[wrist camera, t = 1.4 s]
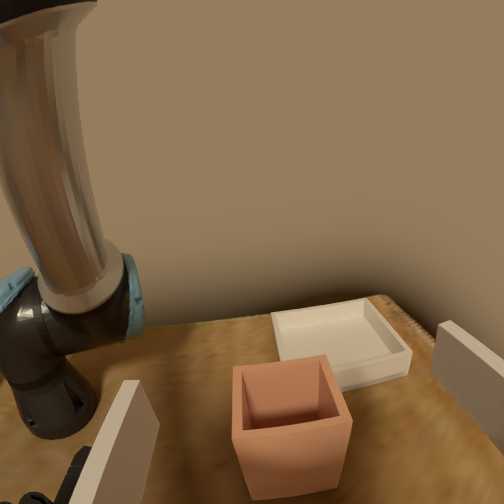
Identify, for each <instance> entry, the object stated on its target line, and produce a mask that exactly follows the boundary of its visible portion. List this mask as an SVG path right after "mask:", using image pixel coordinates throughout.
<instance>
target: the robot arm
mask: <svg viewBox="0 0 504 504" xmlns="http://www.w3.org/2000/svg"><path fill="white" fill-rule="evenodd" d="M96 6H97V0H0V185H1V188H2V191H3V193H4V196H5V199H6V201H7V204H8V206H9V208H10V211H11V213H12V215H13V217H14V220H15V222H16V225H17V227H18V229H19V231H20V233H21V236H22V237H23V240H24V242H25V243H26V246H27V248H28V250H29V252H30V254H31V256H32V258H33V259H34V261H35V263H36V265H37V267H38V269H39V274H38V276H37V277H36V276H35V272H34V271H33V269H32V268H31V267H24V268H21V269H18V270H16V271H14V272H12V273H10V274H8V275H6V276H4V277H2V278H0V369H1V371H2V373H3V375H4V376H5V378H6V380H7V381H8V383H9V385H10V386H11V388H12V391H13V395H14V398H15V401H16V404H17V408H18V411H19V414H20V416H21V419H22V421H23V422H24V424H25V425H26V426H27V428H28V429H29V430H30V431H31V432H32V433H33V434H34V435H35V436H37V437H40V438H43V439H49V440H54V439H61V438H65V437H67V436H70V435H72V434H74V433H75V432H77V431H79V430H80V429H81V428H82V427H84V426H85V425H86V424H87V422H88V421H89V420H90V419H91V417H92V415H93V414H94V411H95V408H96V402H97V401H96V395H95V393H94V391H93V389H92V387H91V385H90V384H89V382H88V381H87V380H86V379H85V378H84V377H83V376H82V375H81V374H80V373H79V372H78V371H77V370H76V369H75V368H74V367H73V365H72V364H71V363H70V362H69V361H68V360H67V359H66V357H65V356H66V355H69V354H74V353H78V352H82V351H86V350H90V349H94V348H98V347H102V346H106V345H110V344H114V343H118V342H119V343H124V342H126V341H127V340H129V339H132V338H135V337H138V336H140V335H141V334H142V333H143V332H144V330H145V325H146V322H145V311H144V304H143V301H142V294H141V287H140V282H139V277H138V273H137V269H136V265H135V262H134V259H133V257H132V256H131V255H130V254H124V253H120V251H119V250H118V248H117V247H116V246H115V245H114V244H113V243H112V242H111V241H109V240H107V239H105V238H104V236H103V233H102V229H101V226H100V221H99V217H98V213H97V209H96V205H95V201H94V197H93V192H92V187H91V182H90V177H89V172H88V167H87V161H86V155H85V149H84V143H83V136H82V129H81V121H80V112H79V102H78V91H77V74H76V31H77V28H78V25H79V24H80V23H81V22H82V21H83V20H84V18H86V16H87V15H88V14H89V13H90V12H91V11H92V10H93V9H94V8H95V7H96ZM430 373H431V374H432V375H433V376H434V377H435V378H436V379H437V380H438V381H439V382H440V383H441V384H442V386H443V387H444V388H445V389H446V390H447V391H448V392H449V393H450V394H451V395H452V396H453V398H454V399H455V400H456V401H457V402H458V403H459V404H460V405H461V406H462V408H463V409H464V410H465V411H466V412H467V413H468V414H469V415H470V417H471V418H472V419H473V420H474V421H475V422H476V423H477V425H478V426H479V427H480V428H481V429H482V430H483V432H484V433H485V434H486V435H487V436H488V437H489V439H490V440H491V441H492V442H493V443H494V445H495V446H496V447H497V448H498V449H499V451H500V452H501V453H502V454H503V455H504V360H503V359H501V358H500V357H499V356H497V355H496V354H495V353H494V352H492V351H491V350H490V349H488V348H487V347H486V346H484V345H483V344H482V343H481V342H479V341H478V340H477V339H475V338H474V337H473V336H471V335H470V334H469V333H467V332H466V331H464V330H463V329H462V328H460V327H459V326H458V325H456V324H455V323H453V322H452V321H451V320H449V321H446V322H444V323H441V324H439V325H438V330H437V337H436V342H435V348H434V353H433V358H432V363H431V368H430ZM159 427H160V423H159V421H158V419H157V417H156V414H155V412H154V410H153V408H152V406H151V404H150V402H149V400H148V397H147V395H146V393H145V391H144V388H143V386H142V384H141V381H140V380H124V381H123V383H122V385H121V387H120V389H119V391H118V393H117V395H116V397H115V400H114V402H113V404H112V406H111V408H110V410H109V412H108V414H107V416H106V418H105V421H104V423H103V425H102V427H101V429H100V431H99V433H98V436H97V438H96V440H95V442H94V445H93V447H88V446H83V447H82V448H81V449H80V450H79V451H78V452H77V453H76V454H75V456H74V458H73V460H72V463H71V467H69V469H68V471H67V475H66V476H65V478H64V480H63V482H62V485H61V487H60V489H59V491H58V494H57V496H56V498H55V501H54V503H53V502H52V501H50V500H49V499H48V498H47V497H46V496H45V495H43V494H42V493H39V492H29V493H27V494H25V495H24V496H23V497H22V498H21V499H20V502H19V504H141V502H142V498H143V493H144V489H145V485H146V480H147V476H148V472H149V467H150V463H151V459H152V455H153V451H154V447H155V443H156V439H157V435H158V431H159ZM0 504H11V503H10V502H6V501H5V502H0Z"/></svg>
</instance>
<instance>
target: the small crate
mask: <svg viewBox="0 0 504 504" xmlns="http://www.w3.org/2000/svg"><path fill="white" fill-rule="evenodd" d="M352 423H353V420H352V417H351V415H350V412H349V410H348V407H347V405H346V402H345V400H344V397H343V395H342V393H341V390H340V388H339V385H338V383H337V381H336V378H335V376H334V373H333V371H332V369H331V366H330V364H329V362H328V359H327V357H326V354H323V355H317V356H312V357H306V358H299V359H293V360H286V361H279V362H271V363H263V364H255V365H245V366H235V367H233V397H232V441H233V445H234V448H235V451H236V454H237V457H238V460H239V464H240V467H241V470H242V473H243V476H244V479H245V481H246V484H247V487H248V490H249V493H250V496H251V499H252V501H256V500H268V499H277V498H285V497H293V496H299V495H305V494H311V493H316V492H321V491H326V490H331V489H335V488H337V487H338V483H339V480H340V476H341V472H342V468H343V464H344V460H345V456H346V451H347V447H348V442H349V438H350V433H351V428H352Z"/></svg>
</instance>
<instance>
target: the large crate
mask: <svg viewBox="0 0 504 504" xmlns="http://www.w3.org/2000/svg"><path fill="white" fill-rule="evenodd" d="M271 319H272V329H273V336H274V342H275V347H276V352H277V357H278V362H279V361H286V360H293V359H299V358H306V357H312V356H317V355H323V354H326V357H327V359H328V362H329V364H330V366H331V369H332V371H333V373H334V376H335V378H336V381H337V383H338V385H339V388H340V390H341V392H346V391H350V390H354V389H359V388H363V387H367V386H370V385H374V384H378V383H382V382H385V381H389V380H392V379H395V378H399V377H402V376H405V375H407V374H408V370H409V366H410V362H411V358H412V353H413V352H412V350H411V349H410V348H409V347H408V346H407V344H406V343H405V342H404V341H403V340H402V338H401V337H400V336H399V335H398V334H397V333H396V331H395V330H394V329H393V328H392V327H391V325H390V324H389V323H388V322H387V321H386V320H385V319H384V317H383V316H382V315H381V314H380V313H379V312H378V310H377V309H376V308H375V307H374V306H373V305H372V304H371V303H370V301H369V300H368V299H367V298H363V299H357V300H352V301H346V302H340V303H334V304H328V305H322V306H316V307H309V308H303V309H295V310H288V311H281V312H273V313H271Z"/></svg>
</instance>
